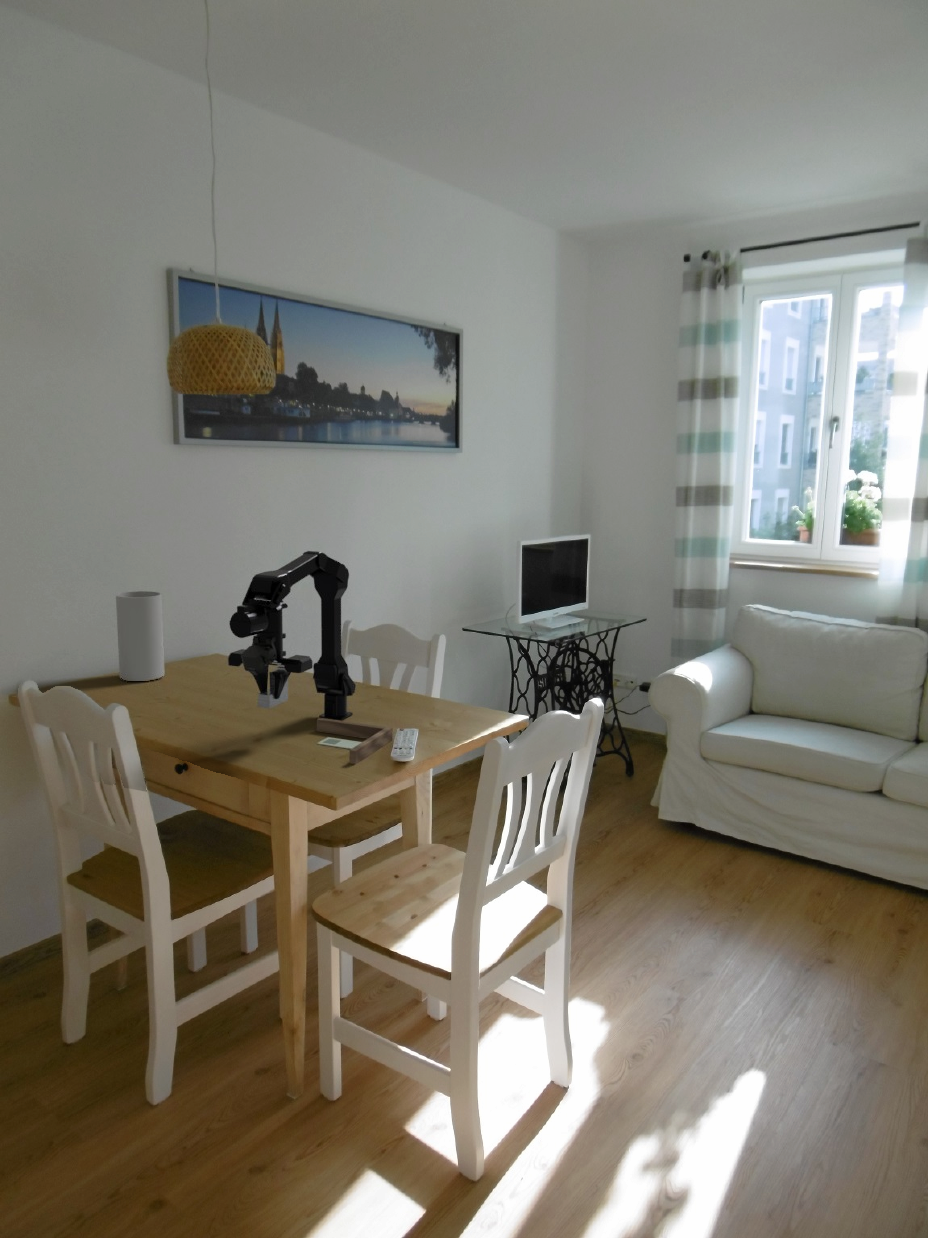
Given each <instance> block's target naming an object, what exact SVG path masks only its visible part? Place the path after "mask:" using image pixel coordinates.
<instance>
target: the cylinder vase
mask: <svg viewBox="0 0 928 1238" xmlns="http://www.w3.org/2000/svg"><path fill="white" fill-rule="evenodd" d="M115 604H116V605H115V607H116V627H117V628H116V629H117V647H118V649H117V651H118V652H117V653H118V671H119V673H118V674H119V678H120V679H121V678H122V679H125V680H130V681H144V680H150V679H156V678H160V677H162V676H163V677H164V676H165V655H164V654H165V653H164V652H165V650H164V649H165V648H164V626H163V625H164V624H163V621H164V619H163V599H162V592H158V591H151V590H150V591H148V590H144V591H143V590H140V591H139V590H137V591H134V590H133V591H125V592H119V593H116V594H115ZM163 677H162V678H163ZM122 679H121V680H122Z"/></svg>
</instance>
